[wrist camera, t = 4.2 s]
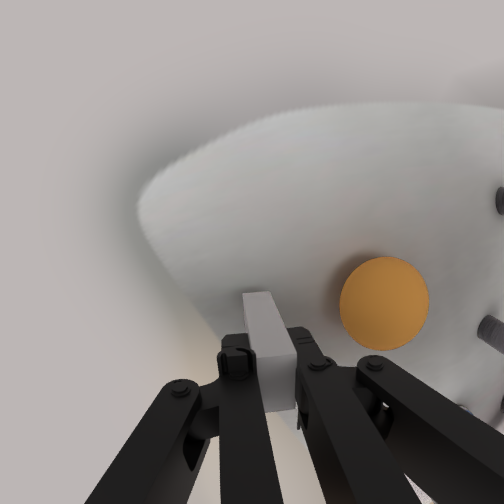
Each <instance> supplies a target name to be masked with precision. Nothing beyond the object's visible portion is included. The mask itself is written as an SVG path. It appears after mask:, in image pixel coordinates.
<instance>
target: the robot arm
mask: <svg viewBox="0 0 504 504" xmlns="http://www.w3.org/2000/svg"><path fill="white" fill-rule="evenodd" d="M242 295H243V308H244V322H245V333H242V334H230V335H226V336H225V337H224V338H223V339H222V346H221V347H222V348H221V351H220V352H219V353H218V355H217V363H218V370H219V378H218V379H217V380H215V381H214V382H212V383H210V384H207V385H203V386H200V387H199V386H198V384H197V383H195V382H194V381H191V380H188V379H178V380H173V381H171V382H169V383H167V384H166V385H165V386H164V387H163V388H162V389H161V391H160V392H159V394H158V395H157V397H156V398H155V400H154V401H153V403H152V404H151V406H150V407H149V408H148V410H147V411H146V413H145V414H144V416H143V417H142V419H141V420H140V422H139V423H138V425H137V426H136V428H135V429H134V431H133V432H132V434H131V435H130V437H129V438H128V440H127V441H126V443H125V444H124V446H123V447H122V449H121V450H120V451H119V453H118V454H117V456H116V458H115V459H114V460H113V462H112V463H111V465H110V466H109V468H108V469H107V471H106V472H105V474H104V475H103V477H102V478H101V480H100V481H99V483H98V484H97V486H96V487H95V489H94V490H93V492H92V493H91V494H90V496H89V497H88V499H87V500H86V502H85V503H84V504H187V501H188V499H189V496H190V493H191V491H192V488H193V486H194V483H195V480H196V478H197V475H198V473H199V470H200V467H201V465H202V462H203V460H204V457H205V454H206V452H207V449H208V446H209V444H210V439H211V438H213V437H216V436H219V450H220V494H221V504H284V503H283V498H282V494H281V489H280V485H279V480H278V475H277V470H276V465H275V461H274V456H273V451H272V446H271V441H270V436H269V431H268V426H267V421H266V416H265V413H267V412H275V411H283V410H290V409H295V405H296V402H297V405H298V422H297V430H299V429H300V425H301V428H302V431H303V434H304V437H305V440H306V443H307V446H308V449H309V452H310V456H311V459H312V462H313V464H314V467H315V470H316V473H317V477H318V480H319V483H320V486H321V489H322V492H323V495H324V497H325V501H326V504H422V503H421V502H420V500H419V498H418V496H417V495H416V493H415V491H414V490H413V488H412V486H411V485H410V483H409V481H408V480H407V478H406V476H408V477H409V478H410V479H411V480H412V481H413V482H414V483H415V484H416V485H417V486H418V487H419V488H421V489H422V490H423V491H424V492H425V493H426V494H427V495H428V496H429V497H431V498H432V499H433V500H434V501H435V502H436V503H437V504H504V435H503V434H502V433H500V432H498V431H497V430H495V429H494V428H492V427H491V426H489V425H487V424H486V423H484V422H483V421H481V420H480V419H478V418H477V417H475V416H474V415H472V414H470V413H469V412H467V411H466V410H464V409H463V408H461V407H460V406H458V405H457V404H455V403H454V402H452V401H450V400H449V399H447V398H446V397H444V396H443V395H441V394H440V393H438V392H437V391H435V390H434V389H432V388H431V387H429V386H428V385H426V384H425V383H423V382H422V381H420V380H419V379H417V378H416V377H414V376H413V375H411V374H410V373H408V372H407V371H405V370H404V369H402V368H401V367H399V366H398V365H396V364H395V363H393V362H392V361H390V360H389V359H387V358H385V357H383V356H378V355H369V356H365V357H363V358H361V359H360V360H359V361H358V363H357V367H340V366H337V364H336V362H335V361H334V360H333V359H331V358H329V357H327V356H324V355H323V354H322V352H321V350H320V349H319V347H318V345H317V344H316V342H315V340H314V339H313V338H312V335H311V333H310V332H309V331H308V330H307V329H305V328H303V327H294V328H286V327H285V325H284V323H283V320H282V318H281V316H280V314H279V311H278V309H277V307H276V305H275V302H274V300H273V298H272V296H271V293H270V291H264V292H252V293H242ZM383 402H384V403H385V404H386V405H388V406H389V407H388V408H387V407H385V406H384V405H383ZM501 410H502V412H503V413H504V399H503V402H502V406H501ZM404 474H405V475H406V476H405V475H404Z"/></svg>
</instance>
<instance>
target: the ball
mask: <svg viewBox="0 0 504 504" xmlns="http://www.w3.org/2000/svg"><path fill="white" fill-rule="evenodd" d="M339 308H340V316H341V320H342V322H343V325H344V327H345V329H346V330H347V332H348V333H349V335H350V336H351V337H352V338H353V339H354V340H355V341H356V342H358V343H359V344H361V345H362V346H364V347H366V348H369V349H373V350H380V351H385V350H392V349H396V348H398V347H400V346H403V345H405V344H406V343H408V342H409V341H410V340H412V339H413V338H414V337H415V336H416V335H417V333H418V332H419V331H420V329H421V328H422V326H423V324H424V322H425V320H426V317H427V314H428V308H429V295H428V290H427V286H426V284H425V281H424V279H423V278H422V276H421V275H420V273H419V272H418V271H417V270H416V269H415V268H414V267H413V266H412V265H411V264H409V263H407V262H405V261H404V260H401V259H398V258H394V257H378V258H374V259H371V260H368V261H366V262H365V263H363V264H361V265H360V266H358V267H357V268H356V269H355V270H354V271H353V272H352V273H351V274H350V276H349V277H348V279H347V280H346V282H345V284H344V286H343V289H342V292H341V296H340V303H339Z"/></svg>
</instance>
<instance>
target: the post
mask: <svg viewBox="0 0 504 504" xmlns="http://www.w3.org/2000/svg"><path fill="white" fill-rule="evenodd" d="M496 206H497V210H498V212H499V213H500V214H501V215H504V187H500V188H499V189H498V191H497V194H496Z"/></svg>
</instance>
